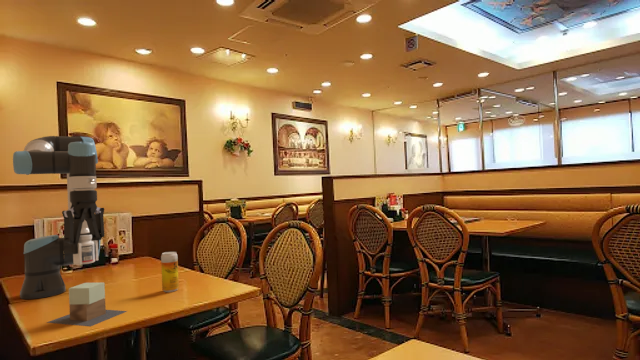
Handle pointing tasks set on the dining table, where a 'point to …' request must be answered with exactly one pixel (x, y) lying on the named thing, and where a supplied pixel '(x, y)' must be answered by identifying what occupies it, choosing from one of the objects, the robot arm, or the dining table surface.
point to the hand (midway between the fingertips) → (86, 262)
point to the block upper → (86, 293)
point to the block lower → (87, 310)
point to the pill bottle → (87, 249)
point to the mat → (91, 322)
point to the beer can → (169, 271)
